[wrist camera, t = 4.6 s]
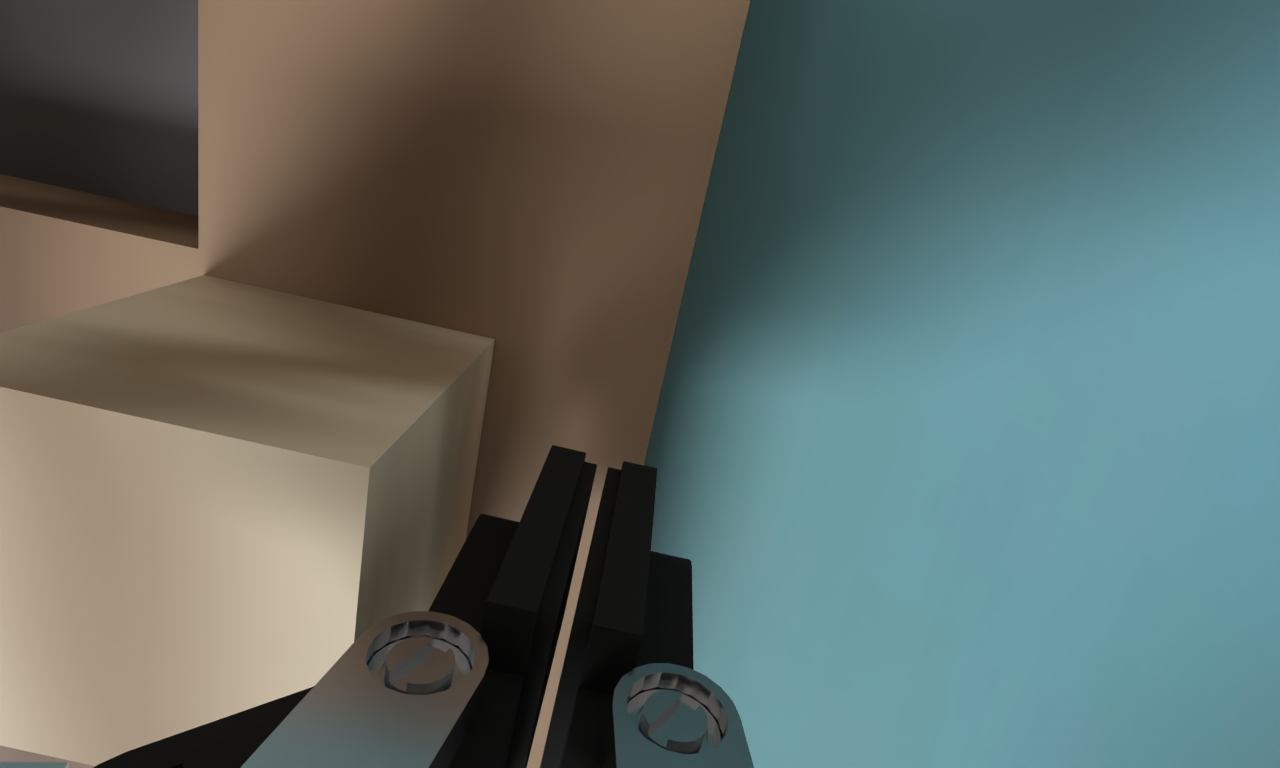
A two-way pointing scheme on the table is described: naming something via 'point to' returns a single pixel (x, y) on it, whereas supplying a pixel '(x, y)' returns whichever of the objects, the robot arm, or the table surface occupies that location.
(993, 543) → the table surface
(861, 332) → the table surface
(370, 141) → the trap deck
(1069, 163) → the table surface
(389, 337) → the maple block
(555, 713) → the robot arm
